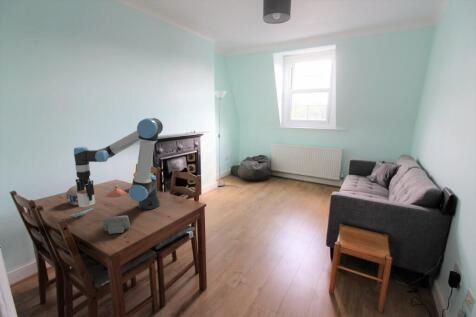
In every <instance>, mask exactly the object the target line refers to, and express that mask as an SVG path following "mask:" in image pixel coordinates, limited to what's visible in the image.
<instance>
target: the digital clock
mask: <svg viewBox="0 0 476 317" xmlns="http://www.w3.org/2000/svg"><path fill="white" fill-rule="evenodd" d="M102 223H103V227H104V231H106V232H108V235H112V234H120V233H121V234H122V233H124V231H125V230H126V229H130V228H131V223H130V220H129V216H128V215H118V216H110V217H109V216H108V217H103V218H102Z"/></svg>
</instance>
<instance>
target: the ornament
mask: <svg viewBox="0 0 476 317" xmlns="http://www.w3.org/2000/svg"><path fill="white" fill-rule="evenodd" d="M85 189H86V188H85ZM65 198H66V200H67V202H68V203H69V204H70V205H72V206H79V204H78V196H77V185H76V184H75V185H73V186H71V187H69V188H68V189H67V191H66V194H65Z"/></svg>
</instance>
